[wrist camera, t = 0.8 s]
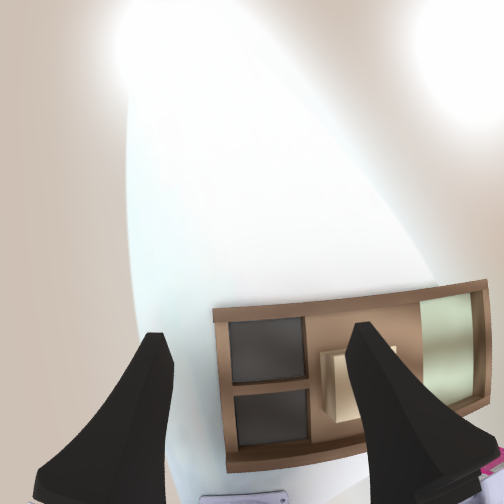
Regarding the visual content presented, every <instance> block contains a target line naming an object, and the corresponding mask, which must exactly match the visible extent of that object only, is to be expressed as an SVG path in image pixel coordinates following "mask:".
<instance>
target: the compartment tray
mask: <svg viewBox="0 0 504 504" xmlns="http://www.w3.org/2000/svg"><path fill="white" fill-rule="evenodd" d="M291 317H301V318H291ZM279 318H290V319H279ZM266 319H278V320H266ZM252 320H266V321H252ZM236 321H251V322H236ZM367 321H370V322H371V323H372V324H373V326H374V327H375V328H376V329H377V331H378V332H379V333H380V335H381V336H382V337H383V338H384V340H385V341H386V342H387V343H388V345H395V346H396V354H397V356H398V357H399V358H400V359H401V360H402V361H403V363H404V364H405V365H406V366H407V367H408V368H409V370H410V371H411V372H412V373H413V374H414V375H415V376H416V377H417V378H418V379H419V380H420V381H421V383H422V384H423V385H424V386H425V387H426V388H427V389H428V390H430V391H431V392H432V393H433V394H434V395H435V396H436V397H437V398H438V399H439V400H441V401H442V402H443V403H444V404H445V405H446V406H448V407H449V408H450V409H452V410H453V411H454V412H456V413H457V414H458V415H460V416H461V417H464V416H466V415H468V414H470V413H472V412H474V411H476V410H478V409H480V408H482V407H484V406H486V405H488V404H489V403H490V394H491V393H490V392H491V376H492V334H491V332H492V331H491V313H490V301H489V290H488V282H487V279H483V280H477V281H472V282H466V283H459V284H453V285H446V286H440V287H433V288H426V289H419V290H412V291H405V292H397V293H389V294H381V295H372V296H364V297H355V298H345V299H335V300H325V301H314V302H303V303H291V304H278V305H264V306H249V307H232V308H213V323H215V332H216V347H217V360H218V373H219V386H220V397H221V409H222V419H223V429H224V439H225V449H226V470H227V473H243V472H256V471H267V470H276V469H284V468H291V467H298V466H304V465H310V464H316V463H321V462H326V461H331V460H336V459H340V458H345V457H349V456H353V455H357V454H361V453H365V452H367V446H366V440H365V433H364V429H363V424H362V421H361V418H357V419H353V420H348V421H343V422H338V423H336V422H335V421H334V420H333V419H331V418H330V417H329V416H328V415H327V414H326V413H325V412H324V411H323V410H322V384H321V364H320V352H324V351H331V350H338V349H345V348H347V346H348V343H349V340H350V337H351V334H352V331H353V328H354V325H355V323H359V322H367ZM228 322H235V323H229V324H230V339H231V353H232V367H233V380H234V382H232V370H231V356H230V342H229V327H228ZM301 326H302V331H301ZM302 340H303V345H302ZM303 355H304V361H303ZM304 372H305V376H304ZM295 376H299V377H295ZM287 377H291V378H287ZM277 378H282V379H277ZM267 379H272V380H267ZM255 380H260V381H255ZM241 381H248V382H241ZM305 391H306V399H305ZM234 396H235V405H236V417H237V428H238V439H239V445H238V441H237V430H236V419H235V407H234ZM306 414H307V423H306Z"/></svg>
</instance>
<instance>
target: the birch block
mask: <svg viewBox="0 0 504 504" xmlns="http://www.w3.org/2000/svg"><path fill="white" fill-rule="evenodd" d="M389 346H390V347H391V348H392V350H393V351H394V352H395V353H396V346H395V345H389ZM346 349H347V348H345V349H338V350H331V351H324V352H320V364H321V384H322V410H323V411H324V412H325V413H326V414H327V415H328V416H329V417H330V418H331V419H333V420H334V421H335V422H336V423H338V422H343V421H348V420H353V419H357V418H361V417H360V414H359V410H358V407H357V404H356V400H355V397H354V394H353V390H352V387H351V384H350V380H349V377H348V371H347V366H346V360H345V352H346Z"/></svg>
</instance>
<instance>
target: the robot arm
mask: <svg viewBox="0 0 504 504" xmlns="http://www.w3.org/2000/svg"><path fill="white" fill-rule="evenodd" d="M345 360H346V366H347V371H348V377H349V380H350V384H351V387H352V390H353V394H354V397H355V400H356V404H357V407H358V410H359V414H360V417H361V421H362V424H363V429H364V433H365V440H366V446H367V454H368V462H369V473H370V495H371V504H504V468H501V469H500V470H498V471H496V472H494V473H493V474H491V475H489V476H488V477H486V478H484V479H482V480H479V476H481V475H482V472H481V469H480V468H482V467H484V466H486V465H487V464H489V463H491V462H492V461H494V460H495V459H497V458H498V457H500V455H501V452H500V449H499V446H498V444H497V441H496V439H495V437H494V436H492V435H490V434H489V433H487V432H485V431H483V430H481V429H479V428H477V427H476V426H474V425H473V424H471V423H470V422H468V421H467V420H465V419H464V418H462V417H461V416H460V415H458V414H457V413H456V412H454V411H453V410H452V409H450V408H449V407H448V406H446V405H445V404H444V403H443V402H442V401H441V400H439V399H438V398H437V397H436V396H435V395H434V394H433V393H432V392H431V391H430V390H428V389H427V388H426V387H425V386H424V385H423V384H422V383H421V381H420V380H419V379H418V378H417V377H416V376H415V375H414V374H413V373H412V372H411V371H410V370H409V368H408V367H407V366H406V365H405V364H404V363H403V361H402V360H401V359H400V358H399V357H398V356H397V354H396V353H395V352H394V351H393V350H392V348H391V347H390V346H389V345H388V343H387V342H386V341H385V340H384V338H383V337H382V336H381V335H380V333H379V332H378V331H377V329H376V328H375V327H374V326H373V324H372V323H371V322H370V321H367V322H359V323H355V325H354V328H353V331H352V334H351V337H350V340H349V343H348V346H347V349H346V352H345ZM173 380H174V362H173V359H172V356H171V353H170V351H169V348H168V345H167V342H166V340H165V337H164V334H163V333H147V334H146V335H145V337H144V339H143V341H142V342H141V344H140V346H139V348H138V350H137V352H136V353H135V355H134V357H133V359H132V360H131V362H130V364H129V365H128V367H127V369H126V370H125V372H124V374H123V375H122V377H121V379H120V380H119V382H118V383H117V385H116V386H115V388H114V389H113V391H112V392H111V394H110V395H109V397H108V398H107V400H106V401H105V403H104V404H103V405H102V406H101V408H100V409H99V410H98V412H97V413H96V414H95V415H94V417H93V418H92V419H91V420H90V422H89V423H88V424H87V425H86V426H85V427H84V428H83V429H82V431H81V432H80V433H79V434H78V435H77V436H76V437H75V438H74V439H73V440H72V441H71V442H70V443H69V444H68V445H67V446H66V447H65V448H64V449H63V450H61V452H59V453H58V454H57V455H56V456H55V457H53V458H52V459H51V460H50V461H48V462H47V463H46V464H45V465H43V466H42V467H41V468H39V469H38V472H37V475H36V479H35V485H34V492H33V498H34V499H35V500H37V501H39V502H42V503H44V504H166V496H165V474H164V473H165V471H164V469H165V468H164V461H165V437H166V430H167V423H168V417H169V410H170V404H171V398H172V391H173ZM281 499H285V500H283V501H280V500H281ZM28 504H34V503H32V502H28ZM199 504H288V494H287V493H286V492H284V491H280V492H272V493H262V494H251V495H235V496H202V497H200V498H199Z"/></svg>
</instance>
